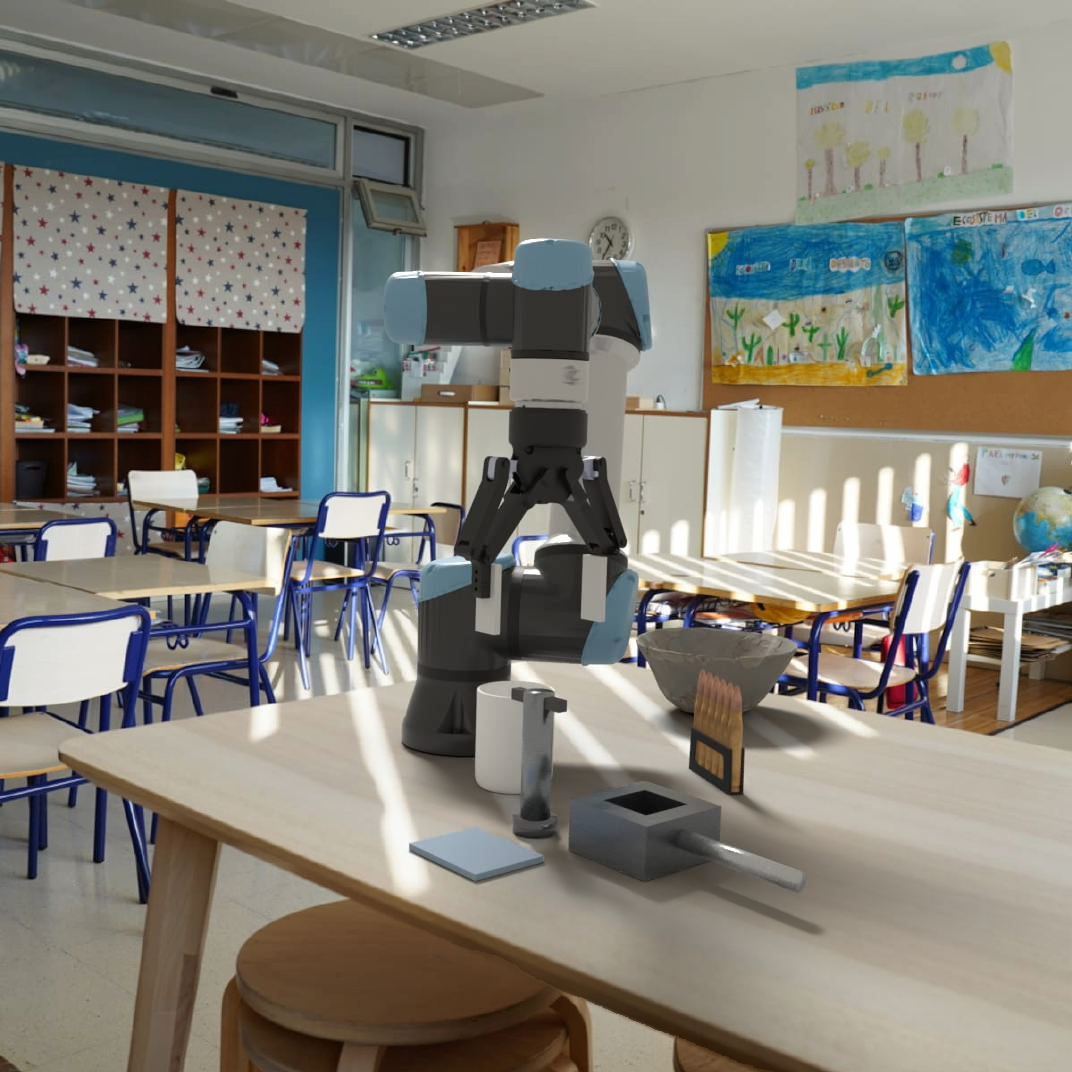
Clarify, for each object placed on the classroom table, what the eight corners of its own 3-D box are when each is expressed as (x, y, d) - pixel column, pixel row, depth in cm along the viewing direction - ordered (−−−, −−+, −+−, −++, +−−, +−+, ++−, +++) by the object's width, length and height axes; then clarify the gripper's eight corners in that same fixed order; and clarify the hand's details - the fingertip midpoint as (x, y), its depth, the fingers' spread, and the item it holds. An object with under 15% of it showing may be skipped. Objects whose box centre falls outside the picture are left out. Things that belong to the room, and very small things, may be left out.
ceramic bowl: (796, 699, 188) (799, 632, 187) (790, 737, 166) (794, 661, 165) (646, 687, 193) (649, 622, 192) (621, 723, 171) (624, 649, 170)
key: (494, 826, 127) (498, 687, 126) (528, 817, 130) (532, 682, 129) (541, 845, 122) (545, 701, 121) (575, 836, 125) (579, 695, 123)
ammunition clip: (744, 794, 140) (749, 687, 139) (728, 795, 140) (733, 687, 139) (702, 767, 150) (707, 667, 149) (688, 768, 150) (692, 667, 149)
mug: (521, 762, 150) (524, 672, 149) (565, 791, 139) (568, 694, 138) (453, 768, 147) (455, 677, 146) (491, 799, 136) (494, 700, 135)
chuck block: (568, 850, 121) (569, 798, 120) (642, 829, 127) (644, 780, 127) (759, 929, 104) (762, 869, 103) (833, 900, 110) (837, 844, 110)
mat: (408, 849, 120) (409, 843, 120) (476, 832, 125) (476, 826, 125) (475, 881, 112) (475, 874, 112) (543, 861, 118) (543, 855, 117)
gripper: (470, 403, 111) (464, 644, 113) (667, 409, 127) (658, 620, 129) (419, 402, 116) (414, 632, 119) (614, 408, 133) (607, 610, 135)
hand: (542, 626), depth 124 cm, fingers open, 13 cm apart
